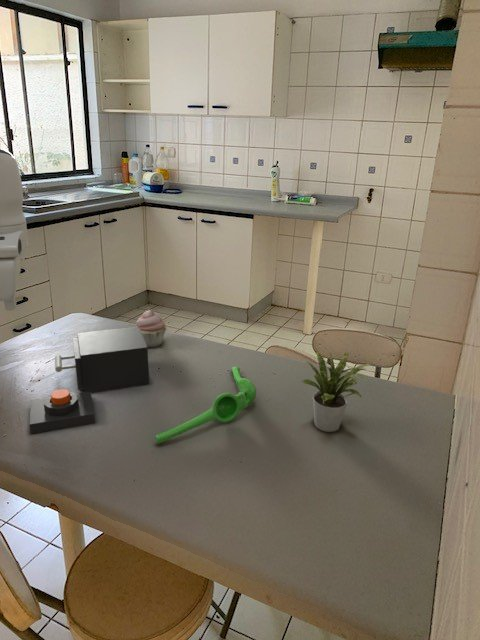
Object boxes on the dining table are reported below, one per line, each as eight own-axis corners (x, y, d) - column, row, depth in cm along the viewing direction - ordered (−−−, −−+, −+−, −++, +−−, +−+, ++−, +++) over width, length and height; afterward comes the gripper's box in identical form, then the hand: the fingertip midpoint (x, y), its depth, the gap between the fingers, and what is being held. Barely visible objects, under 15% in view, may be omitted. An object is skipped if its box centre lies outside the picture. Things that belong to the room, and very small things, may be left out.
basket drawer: (57, 392, 102) (53, 361, 99) (56, 369, 112) (53, 340, 109) (138, 380, 108) (137, 350, 106) (131, 359, 118) (129, 331, 115)
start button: (51, 407, 92) (50, 399, 92) (51, 398, 95) (50, 390, 95) (70, 404, 94) (69, 396, 93) (70, 395, 97) (69, 387, 96)
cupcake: (162, 351, 125) (161, 317, 121) (129, 348, 126) (127, 314, 122) (172, 337, 134) (171, 305, 130) (141, 334, 135) (139, 302, 131)
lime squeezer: (232, 371, 116) (233, 348, 114) (276, 382, 112) (277, 359, 109) (152, 444, 88) (151, 416, 86) (206, 464, 84) (207, 435, 81)
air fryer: (84, 393, 104) (80, 355, 100) (81, 368, 115) (77, 332, 111) (149, 383, 109) (147, 347, 105) (140, 360, 120) (138, 326, 116)
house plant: (364, 456, 87) (377, 380, 81) (291, 443, 90) (298, 369, 84) (363, 414, 100) (374, 346, 94) (299, 404, 103) (306, 338, 97)
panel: (30, 434, 90) (28, 416, 88) (32, 409, 98) (29, 393, 96) (95, 422, 94) (93, 406, 93) (91, 400, 102) (89, 384, 100)
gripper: (-11, 227, 93) (-2, 292, 99) (-26, 251, 76) (-14, 328, 81) (23, 226, 96) (30, 290, 101) (17, 250, 78) (26, 325, 83)
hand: (11, 307), depth 91 cm, fingers closed
